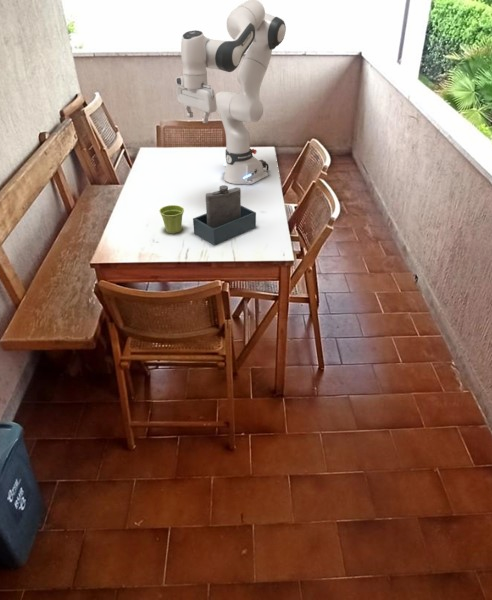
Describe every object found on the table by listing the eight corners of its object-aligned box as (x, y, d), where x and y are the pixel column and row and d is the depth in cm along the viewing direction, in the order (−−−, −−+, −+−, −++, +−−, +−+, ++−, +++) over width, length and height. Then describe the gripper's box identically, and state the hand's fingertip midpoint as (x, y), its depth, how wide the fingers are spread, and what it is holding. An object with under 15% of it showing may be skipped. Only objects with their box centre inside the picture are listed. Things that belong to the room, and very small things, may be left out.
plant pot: (164, 224, 197) (161, 204, 192) (187, 224, 197) (185, 205, 191) (159, 235, 189) (157, 215, 184) (183, 236, 189) (181, 215, 184)
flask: (243, 227, 194) (242, 184, 183) (210, 235, 189) (207, 191, 178) (238, 223, 197) (238, 181, 186) (206, 231, 191) (203, 188, 181)
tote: (235, 216, 203) (235, 202, 199) (255, 227, 195) (256, 212, 192) (193, 233, 191) (192, 218, 187) (214, 245, 183) (213, 229, 180)
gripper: (220, 85, 175) (221, 124, 183) (185, 75, 187) (188, 112, 195) (206, 87, 171) (208, 127, 179) (172, 78, 183) (175, 115, 191)
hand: (197, 119), depth 187 cm, fingers open, 8 cm apart
